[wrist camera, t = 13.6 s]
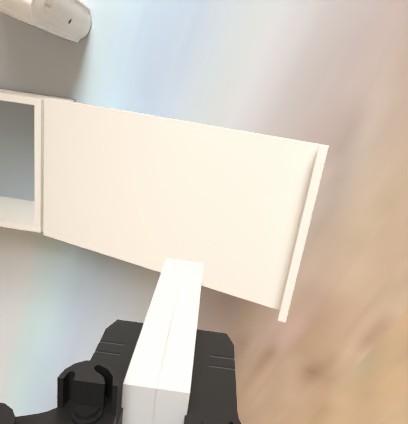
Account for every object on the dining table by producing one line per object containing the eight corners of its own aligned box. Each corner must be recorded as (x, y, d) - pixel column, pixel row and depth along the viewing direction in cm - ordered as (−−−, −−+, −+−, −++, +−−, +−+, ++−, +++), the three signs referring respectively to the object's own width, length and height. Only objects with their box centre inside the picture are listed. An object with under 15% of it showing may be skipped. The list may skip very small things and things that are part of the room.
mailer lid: (328, 147, 23) (329, 145, 25) (31, 96, 31) (49, 97, 33) (285, 322, 27) (289, 309, 29) (31, 239, 35) (47, 233, 37)
